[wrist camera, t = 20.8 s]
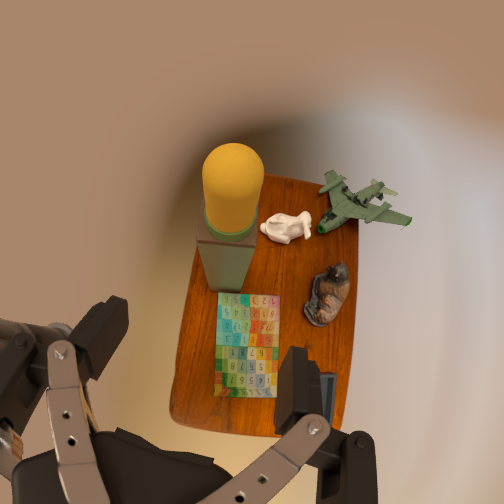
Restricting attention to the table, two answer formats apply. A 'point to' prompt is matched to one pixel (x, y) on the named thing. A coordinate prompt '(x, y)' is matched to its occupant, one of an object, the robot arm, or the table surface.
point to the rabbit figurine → (287, 227)
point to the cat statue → (327, 295)
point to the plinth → (225, 256)
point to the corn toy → (231, 191)
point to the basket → (324, 395)
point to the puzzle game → (247, 345)
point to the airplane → (356, 204)
